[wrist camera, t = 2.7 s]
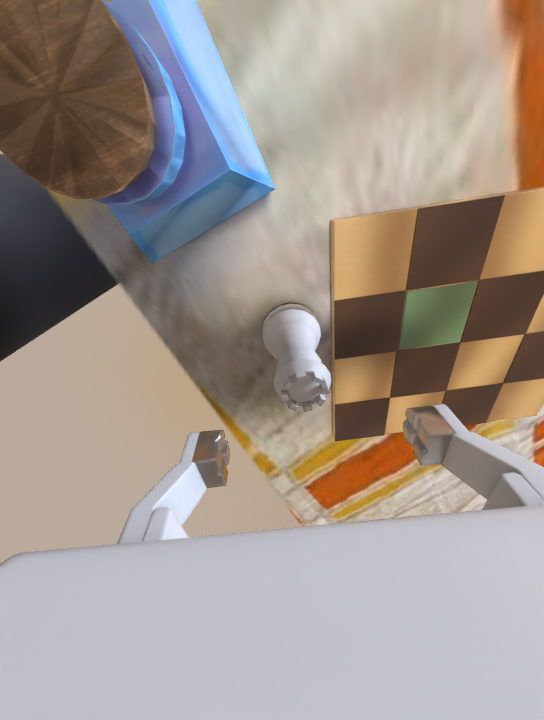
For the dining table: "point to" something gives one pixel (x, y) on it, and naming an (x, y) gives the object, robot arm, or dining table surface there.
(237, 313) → the dining table surface
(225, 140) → the perfume bottle
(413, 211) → the chessboard
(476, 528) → the robot arm
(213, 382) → the dining table surface
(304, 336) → the rook chess piece
